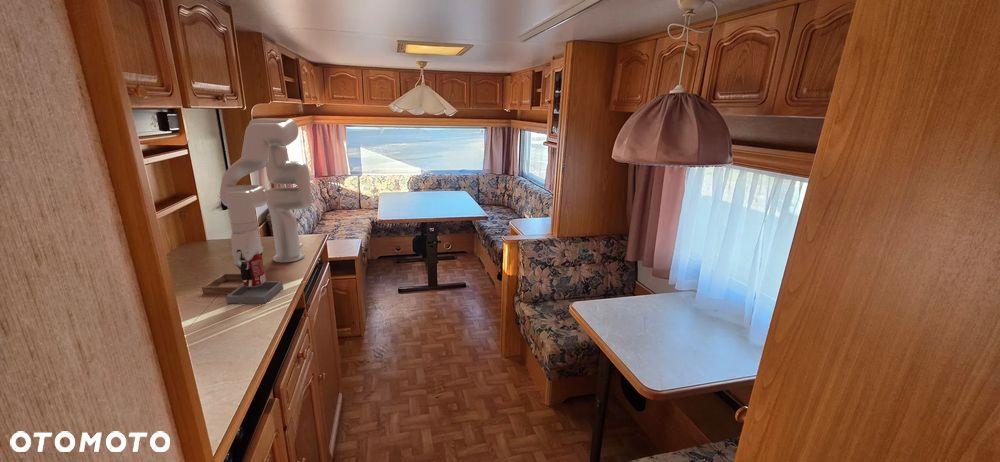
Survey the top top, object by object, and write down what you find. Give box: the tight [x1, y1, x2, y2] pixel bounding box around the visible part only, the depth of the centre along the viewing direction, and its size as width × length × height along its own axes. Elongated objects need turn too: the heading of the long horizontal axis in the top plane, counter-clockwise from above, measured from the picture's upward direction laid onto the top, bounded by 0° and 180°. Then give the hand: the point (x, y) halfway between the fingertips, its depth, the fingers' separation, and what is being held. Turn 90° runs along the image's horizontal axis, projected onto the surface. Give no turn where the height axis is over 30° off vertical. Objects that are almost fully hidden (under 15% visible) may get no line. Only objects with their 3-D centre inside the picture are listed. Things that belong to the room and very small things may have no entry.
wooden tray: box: [201, 272, 243, 295], centre depth 150 cm, size 13×13×2 cm
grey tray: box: [225, 280, 284, 306], centre depth 143 cm, size 13×13×3 cm
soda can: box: [242, 251, 267, 288], centre depth 140 cm, size 7×7×12 cm
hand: (252, 275), depth 141 cm, fingers closed on soda can, 6 cm apart
